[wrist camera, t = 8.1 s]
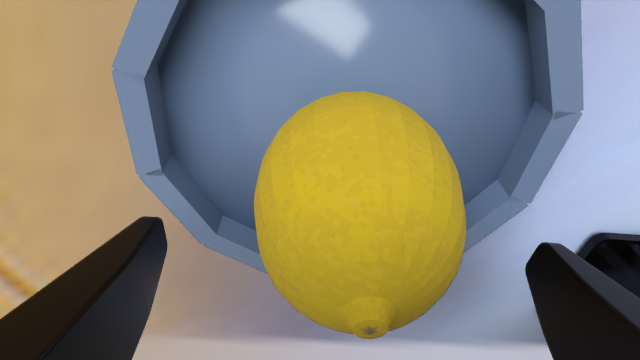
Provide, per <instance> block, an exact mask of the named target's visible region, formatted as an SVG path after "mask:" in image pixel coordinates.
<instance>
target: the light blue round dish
mask: <svg viewBox="0 0 640 360" xmlns="http://www.w3.org/2000/svg"><path fill="white" fill-rule="evenodd" d="M112 67H113V68H114V69H113V70H112V74H113V79H114V83H115V87H116V91H117V95H118V99H119V103H120V107H121V111H122V115H123V119H124V124H125V128H126V132H127V136H128V140H129V144H130V148H131V152H132V156H133V160H134V164H135V168H136V173H137V174H140V176H139V178H140V179H141V180H142V181H143V182H144V184H145V185H146V186H147V187H148V188H149V189H150V190H151V191H152V192H153V193H154V194H155V195H156V196H157V197H158V199H159V200H160V201H161V202H162V203H163V204H164V205H165V206H166V207H167V208H168V209H169V210H170V211H171V213H172V214H173V215H174V216H175V217H176V218H177V219H178V220H179V221H180V222H181V223H182V224H183V225H184V227H185V228H186V229H187V230H188V231H189V232H190V233H191V234H192V235H193V236H194V237H195V238H196V239H197V240H198V242H199V243H200V244H202V243H204V245H203V246H205V247H207V248H210V249H212V250H214V251H217V252H219V253H221V254H223V255H226V256H228V257H230V258H233V259H235V260H237V261H240V262H242V263H244V264H247V265H249V266H251V267H253V268H256V269H258V270H260V271H263V272H265V273H267V274H268V272H267V270H266V268H265V266H264V263H263V260H262V258H261V255H260V251H259V246H258V240H257V232H256V224H255V214H254V196H255V189H256V184H257V180H258V175H259V171H260V167H261V163H262V160H263V157H264V155H265V153H266V151H267V149H268V148H269V146H270V144H271V142H272V141H273V139H274V137H275V136H276V134H277V132H278V131H279V129H280V128H281V127H282V126H283V124H284V123H285V122H287V121H288V120H289V119H290V118H291V117H292V116H293V115H294V114H295V113H296V112H297V111H298V110H299V109H301V108H303V107H304V106H306V105H308V104H310V103H312V102H314V101H315V100H317V99H319V98H321V97H324V96H328V95H332V94H335V93H339V92H350V91H366V92H370V93H375V94H380V95H384V96H388V97H390V98H392V99H394V100H396V101H398V102H400V103H402V104H404V105H406V106H408V107H410V108H411V109H413V110H414V111H415V112H416V113H417V114H418V115H419V116H420V117H422V118H423V119H424V120H425V121H426V122H427V123H428V124H429V125H430V126H431V127H432V128H433V129H434V130H435V131H436V132H437V134H438V135H439V137H440V138H441V140H442V142H443V144H444V146H445V147H446V149H447V151H448V153H449V154H450V156H451V158H452V160H453V162H454V164H455V166H456V169H457V171H458V175H459V179H460V183H461V189H462V195H463V201H464V207H465V215H466V237H465V243H464V249H463V253H464V252H465V251H467V250H468V249H469V248H471V247H472V246H474V245H475V244H476V243H478V242H479V241H480V240H482V239H483V238H485V237H486V236H487V235H489V234H490V233H491V232H493V231H494V230H496V229H497V228H498V227H500V226H501V225H503V224H504V223H505V222H507V221H508V220H509V219H511V218H512V217H514V216H515V215H516V214H518V213H519V212H520V211H522V210H523V209H525V208H526V207H527V206H528V205H527V203H531V202H532V200H533V198H534V197H535V195H536V193H537V191H538V190H539V188H540V186H541V185H542V183H543V181H544V179H545V178H546V176H547V174H548V172H549V171H550V169H551V167H552V165H553V164H554V162H555V160H556V158H557V157H558V155H559V153H560V152H561V150H562V148H563V146H564V145H565V143H566V141H567V139H568V138H569V136H570V134H571V132H572V131H573V129H574V127H575V125H576V124H577V122H578V120H579V119H580V117H581V115H582V113H581V112H580V111H581V110H583V72H582V34H581V0H137V2H136V5H135V8H134V10H133V13H132V15H131V18H130V21H129V23H128V26H127V28H126V31H125V34H124V36H123V39H122V41H121V44H120V46H119V49H118V52H117V54H116V57H115V59H114V62H113V65H112Z"/></svg>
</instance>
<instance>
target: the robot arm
mask: <svg viewBox="0 0 640 360" xmlns="http://www.w3.org/2000/svg"><path fill="white" fill-rule="evenodd" d="M166 253H167V239H166V234H165V230H164V225H163V221H162V220H161V218H159V217H146V216H144V217H141V218H139V219H137V220H136V221H135V222H133V223H132V224H131V225H129V226H128V227H126V228H125V229H124V230H122V231H121V232H120V233H118V234H117V235H115V236H114V237H113V238H111V239H110V240H108V241H107V242H106V243H104V244H103V245H102V246H100V247H99V248H97V249H96V250H95V251H93V252H92V253H91V254H89V255H88V256H86V257H85V258H84V259H82V260H81V261H80V262H78V263H77V264H75V265H74V266H73V267H71V268H70V269H69V270H67V271H66V272H64V273H63V274H62V275H60V276H59V277H58V278H56V279H55V280H53V281H52V282H51V283H49V284H48V285H47V286H45V287H44V288H42V289H41V290H40V291H38V292H37V293H35V294H34V295H33V296H31V297H30V298H29V299H27V300H26V301H24V302H23V303H22V304H20V305H19V306H18V307H16V308H15V309H13V310H12V311H11V312H9V313H8V314H7V315H5V316H4V317H2V318H1V319H0V360H132V358H133V355H134V353H135V350H136V348H137V345H138V343H139V340H140V338H141V335H142V333H143V330H144V328H145V325H146V322H147V320H148V317H149V314H150V311H151V308H152V304H153V301H154V297H155V293H156V290H157V286H158V282H159V279H160V275H161V271H162V268H163V264H164V260H165V256H166ZM525 271H526V277H527V280H528V284H529V287H530V290H531V294H532V297H533V301H534V304H535V308H536V311H537V315H538V318H539V322H540V325H541V328H542V331H543V334H544V337H545V339H546V342H547V345H548V347H549V349H550V352H551V354H552V357H553V359H554V360H640V235H628V234H614V233H600V234H597V235H595V236H593V237H592V238H591V239H590V240H589V241H588V243H587V244H586V245H585V247H584V248H583V249H582V251H581V252H580V253H579V255H576V254H575V253H573V252H572V251H570V250H569V249H567V248H566V247H565V246H563V245H561V244H559V243H547V242H544V243H541V244H540V245H539V246H538V247H537V248H536V250H535V252H534V253H533V255H532V256H531V258H530V259H529V261H528V262H527V264H526V269H525Z"/></svg>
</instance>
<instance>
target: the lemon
mask: <svg viewBox="0 0 640 360" xmlns="http://www.w3.org/2000/svg"><path fill="white" fill-rule="evenodd" d="M254 214H255V224H256V232H257V240H258V246H259V251H260V255H261V258H262V260H263V263H264V266H265V268H266V270H267V272H268V274H269V276H270V278H271V280H272V282H273V284H274V285H275V287H276V288H277V290H278V291H279V293H280V294H281V295H282V296H283V297H284V298H285V299H286V300H287V301H288V302H289V303H290V304H291V305H292V306H293V307H294V308H295V309H296V310H297V311H299V312H300V313H302V314H303V315H305V316H306V317H308V318H309V319H311V320H313V321H314V322H316V323H317V324H320V325H323V326H325V327H328V328H331V329H333V330H336V331H340V332H344V333H349V334H355V335H356V336H358V337H360V338H364V339H374V338H379V337H381V336H383V335H384V334H386V333H387V331H391V330H394V329H397V328H399V327H402V326H404V325H406V324H408V323H410V322H412V321H413V320H415V319H417V318H418V317H420V316H421V315H423V314H424V313H425V312H426V311H428V310H429V309H430V308H431V307H432V306H433V305H434V304H435V303H436V302H437V301H438V300H439V299H440V298H441V297H442V296H443V295H444V293H445V292H446V290H447V289H448V287H449V286H450V284H451V282H452V281H453V279H454V277H455V275H456V274H457V271H458V269H459V266H460V263H461V259H462V254H463V249H464V243H465V237H466V215H465V207H464V201H463V195H462V189H461V183H460V179H459V175H458V171H457V169H456V166H455V164H454V162H453V160H452V158H451V156H450V154H449V153H448V151H447V149H446V147H445V146H444V144H443V142H442V140H441V138H440V137H439V135H438V134H437V132H436V131H435V130H434V129H433V128H432V127H431V126H430V125H429V124H428V123H427V122H426V121H425V120H424V119H423V118H422V117H420V116H419V115H418V114H417V113H416V112H415V111H414V110H413V109H411V108H410V107H408V106H406V105H404V104H402V103H400V102H398V101H396V100H394V99H392V98H390V97H388V96H384V95H380V94H375V93H370V92H366V91H350V92H339V93H335V94H332V95H328V96H324V97H321V98H319V99H317V100H315V101H314V102H312V103H310V104H308V105H306V106H304V107H303V108H301V109H299V110H298V111H297V112H296V113H295V114H294V115H293V116H292V117H291V118H290V119H289V120H288V121H287V122H285V123H284V124H283V126H282V127H281V128H280V129H279V131H278V132H277V134H276V136H275V137H274V139H273V141H272V142H271V144H270V146H269V148H268V149H267V151H266V153H265V155H264V157H263V160H262V163H261V167H260V171H259V175H258V180H257V184H256V189H255V196H254Z"/></svg>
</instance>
